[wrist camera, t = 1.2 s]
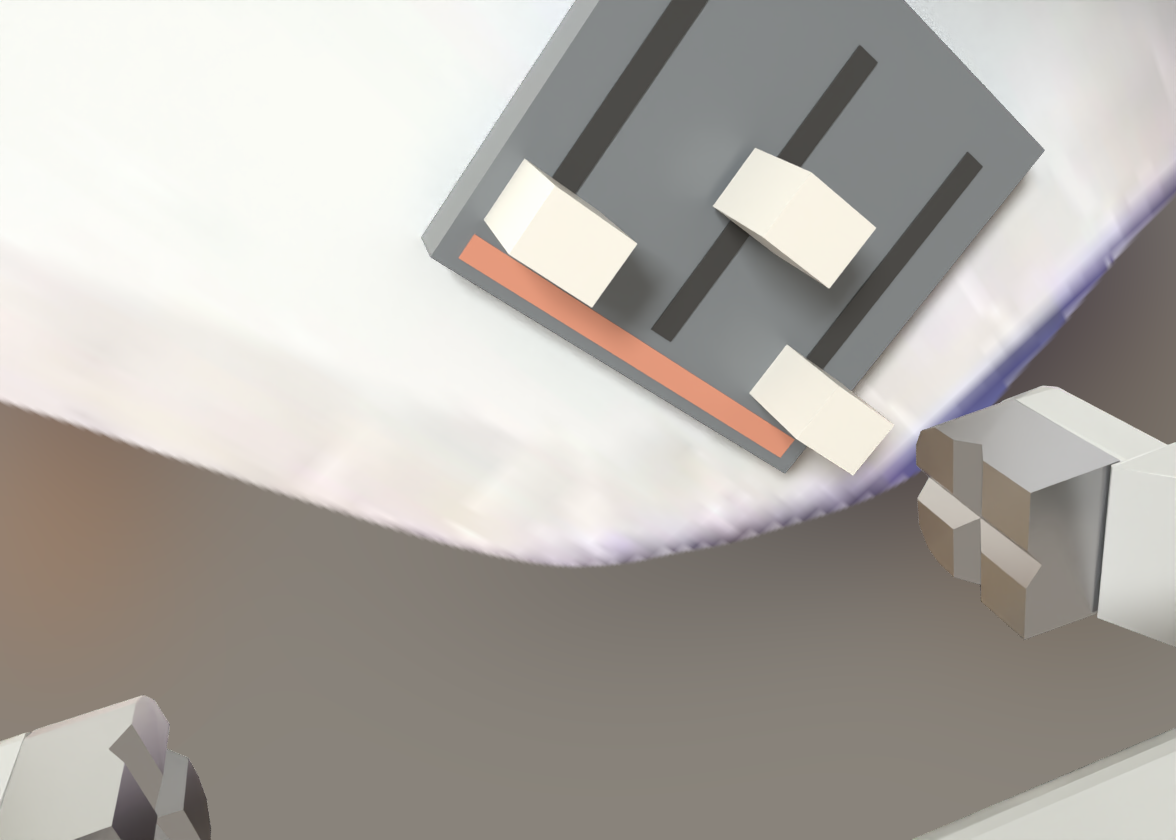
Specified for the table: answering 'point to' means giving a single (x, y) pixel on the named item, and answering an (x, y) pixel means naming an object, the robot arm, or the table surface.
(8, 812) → the robot arm
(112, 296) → the table surface
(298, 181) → the table surface
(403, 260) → the table surface
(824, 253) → the handle
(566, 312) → the breaker panel
